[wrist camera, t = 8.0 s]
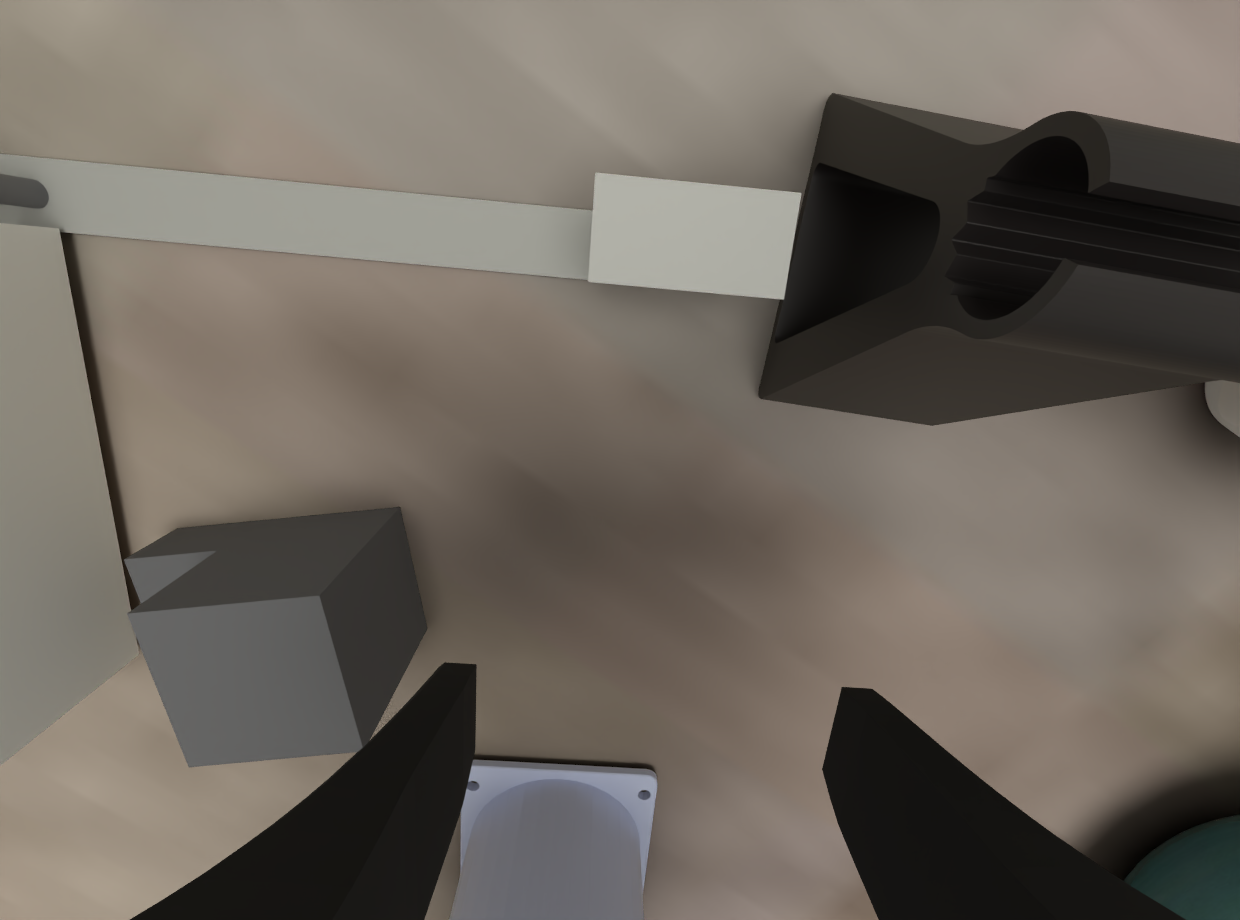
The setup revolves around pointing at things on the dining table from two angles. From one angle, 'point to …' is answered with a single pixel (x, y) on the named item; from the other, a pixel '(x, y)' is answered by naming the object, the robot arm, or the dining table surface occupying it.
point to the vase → (1195, 872)
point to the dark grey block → (278, 632)
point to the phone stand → (1005, 265)
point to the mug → (1224, 403)
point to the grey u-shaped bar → (431, 223)
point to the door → (51, 503)
